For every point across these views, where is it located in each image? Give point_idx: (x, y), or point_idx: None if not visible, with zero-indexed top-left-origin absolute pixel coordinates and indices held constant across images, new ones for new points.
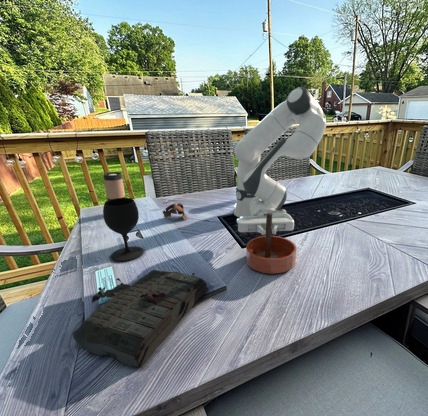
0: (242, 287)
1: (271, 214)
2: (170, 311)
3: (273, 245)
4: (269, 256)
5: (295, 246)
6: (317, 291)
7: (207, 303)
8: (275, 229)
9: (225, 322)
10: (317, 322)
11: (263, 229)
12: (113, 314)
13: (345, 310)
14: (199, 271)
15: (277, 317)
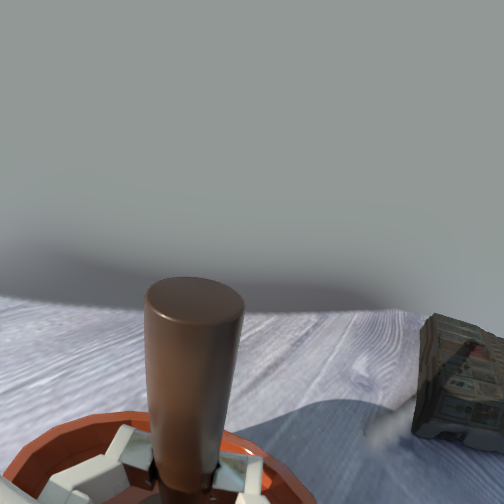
0: (319, 436)
1: (180, 279)
2: (436, 335)
3: None
4: None
5: (19, 456)
6: (109, 361)
7: (394, 398)
8: (119, 434)
9: (346, 359)
10: None
11: (241, 474)
12: (491, 340)
13: (107, 314)
14: (462, 500)
15: (245, 346)
